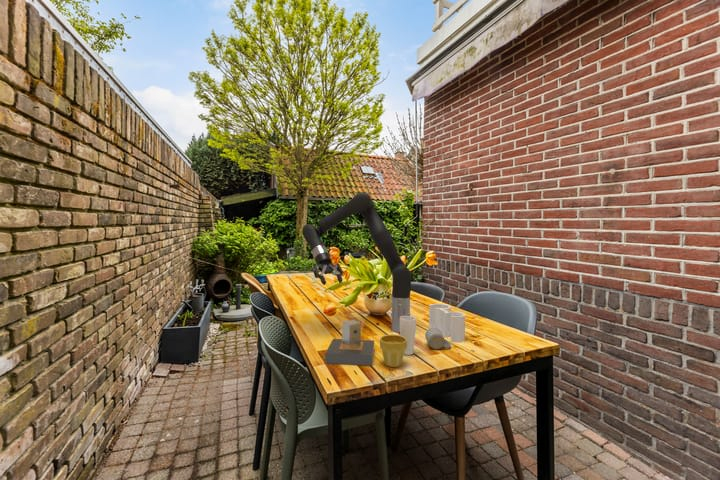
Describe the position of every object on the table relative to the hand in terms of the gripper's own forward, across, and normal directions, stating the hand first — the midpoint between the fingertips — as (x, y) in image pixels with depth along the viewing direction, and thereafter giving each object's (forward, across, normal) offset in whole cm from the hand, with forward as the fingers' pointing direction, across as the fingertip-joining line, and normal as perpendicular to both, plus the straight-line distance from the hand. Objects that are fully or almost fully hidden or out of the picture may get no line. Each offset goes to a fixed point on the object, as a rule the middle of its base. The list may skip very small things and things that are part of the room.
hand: (333, 283), depth 149 cm
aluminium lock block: (+30, -3, +1) cm, 30 cm away
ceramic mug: (+43, +34, -5) cm, 55 cm away
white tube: (+41, +18, -4) cm, 45 cm away
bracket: (+36, +52, +2) cm, 63 cm away
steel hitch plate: (+34, -4, +4) cm, 34 cm away
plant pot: (+44, +6, -7) cm, 45 cm away
